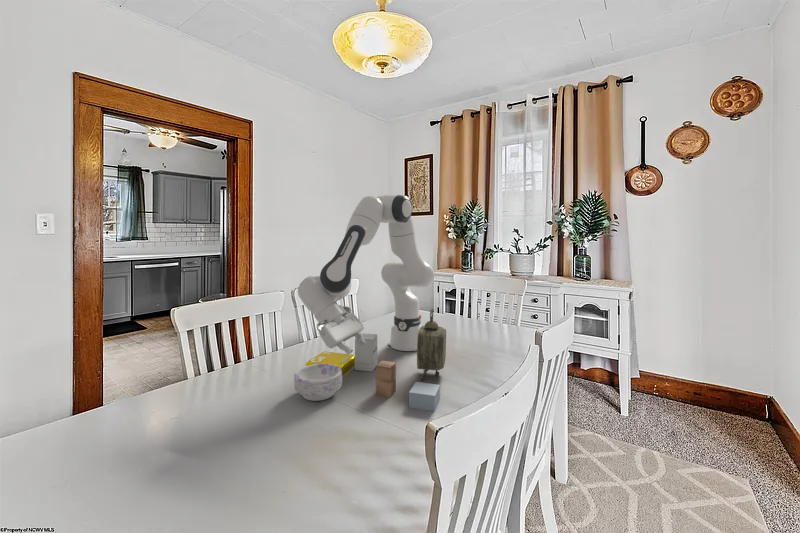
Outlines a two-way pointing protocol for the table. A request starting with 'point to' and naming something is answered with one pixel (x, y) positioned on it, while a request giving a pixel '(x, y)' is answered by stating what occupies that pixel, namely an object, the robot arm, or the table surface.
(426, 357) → the tabletop clock
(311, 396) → the paper bowls
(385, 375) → the walnut pillar
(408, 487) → the table surface
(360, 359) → the supplement box
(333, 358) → the element tile
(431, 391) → the slate block
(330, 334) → the robot arm
